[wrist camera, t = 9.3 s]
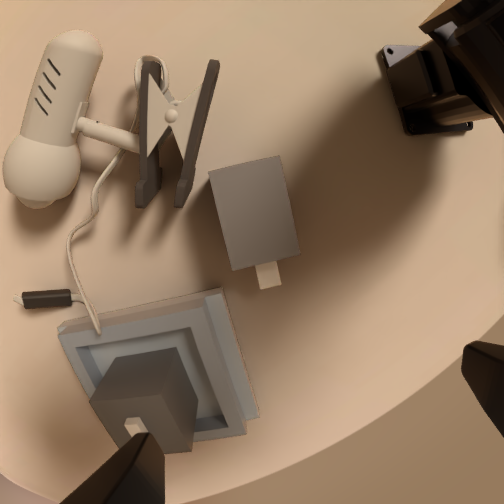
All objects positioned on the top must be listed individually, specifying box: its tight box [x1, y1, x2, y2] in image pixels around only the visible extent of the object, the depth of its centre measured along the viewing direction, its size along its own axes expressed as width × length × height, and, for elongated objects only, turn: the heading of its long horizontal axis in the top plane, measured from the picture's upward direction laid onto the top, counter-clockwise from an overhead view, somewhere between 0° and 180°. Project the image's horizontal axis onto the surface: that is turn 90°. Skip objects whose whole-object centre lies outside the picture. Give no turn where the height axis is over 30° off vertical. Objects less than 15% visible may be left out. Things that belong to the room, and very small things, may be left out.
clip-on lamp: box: [3, 30, 220, 336], centre depth 15 cm, size 12×6×18 cm
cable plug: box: [208, 156, 301, 290], centre depth 17 cm, size 4×7×4 cm, turn 13°
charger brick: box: [89, 347, 199, 454], centre depth 16 cm, size 4×4×6 cm
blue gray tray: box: [57, 287, 260, 442], centre depth 19 cm, size 12×10×3 cm
